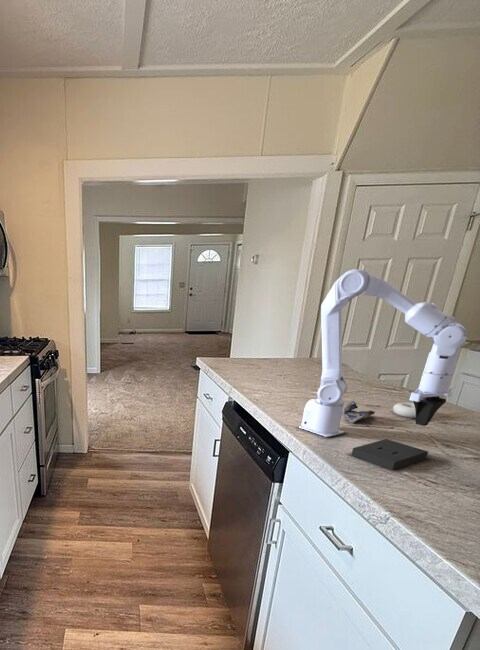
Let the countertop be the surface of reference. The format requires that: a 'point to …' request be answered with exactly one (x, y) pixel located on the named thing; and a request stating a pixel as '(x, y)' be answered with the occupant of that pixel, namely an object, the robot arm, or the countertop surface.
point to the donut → (405, 409)
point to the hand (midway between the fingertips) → (421, 424)
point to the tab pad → (402, 449)
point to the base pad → (381, 456)
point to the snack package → (355, 413)
